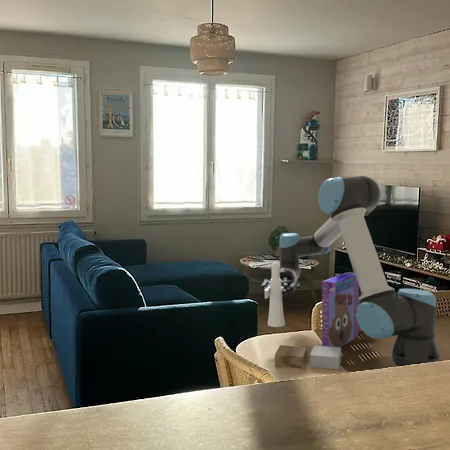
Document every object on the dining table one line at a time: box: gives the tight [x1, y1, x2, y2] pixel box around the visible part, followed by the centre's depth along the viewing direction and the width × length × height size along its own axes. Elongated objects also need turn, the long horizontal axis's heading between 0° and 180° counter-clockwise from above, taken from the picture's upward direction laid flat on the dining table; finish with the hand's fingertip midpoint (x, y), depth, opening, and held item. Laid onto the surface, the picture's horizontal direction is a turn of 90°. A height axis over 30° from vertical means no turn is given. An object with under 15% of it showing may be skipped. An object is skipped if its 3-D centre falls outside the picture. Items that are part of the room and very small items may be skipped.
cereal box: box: [321, 271, 360, 348], centre depth 201 cm, size 17×5×24 cm, turn 139°
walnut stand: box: [274, 344, 308, 370], centre depth 184 cm, size 9×9×4 cm
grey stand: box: [309, 345, 342, 370], centre depth 183 cm, size 9×9×4 cm
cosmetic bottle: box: [267, 261, 286, 328], centre depth 195 cm, size 6×6×22 cm
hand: (272, 294), depth 189 cm, fingers closed on cosmetic bottle, 4 cm apart
